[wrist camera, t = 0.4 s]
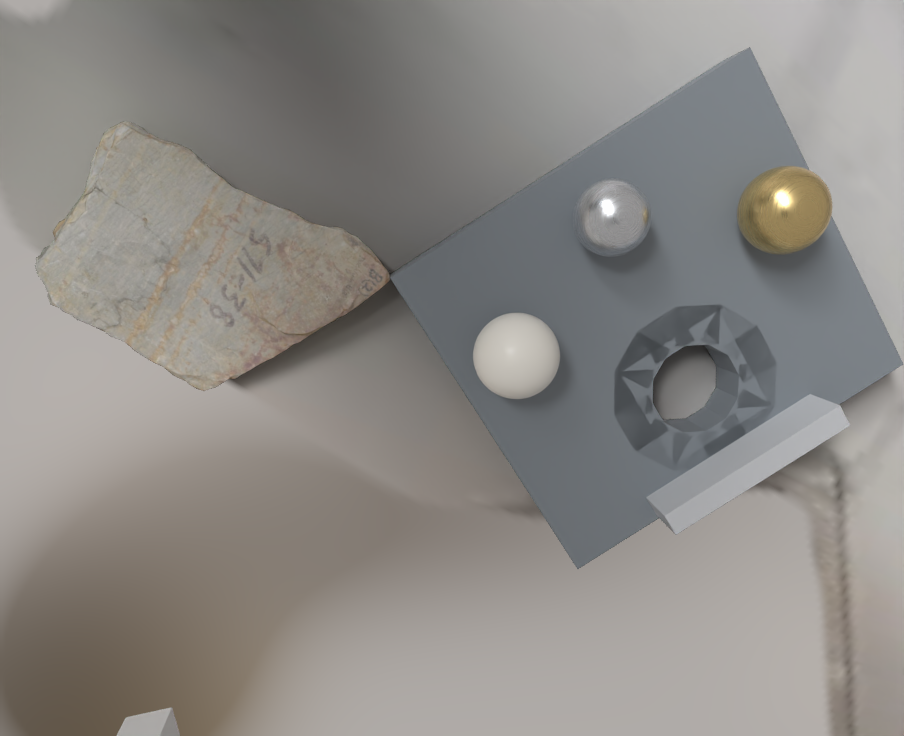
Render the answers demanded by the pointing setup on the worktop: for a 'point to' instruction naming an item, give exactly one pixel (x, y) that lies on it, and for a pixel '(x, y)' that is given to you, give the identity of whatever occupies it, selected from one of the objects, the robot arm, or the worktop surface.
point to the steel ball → (612, 217)
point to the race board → (657, 321)
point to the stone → (197, 263)
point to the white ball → (516, 355)
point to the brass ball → (784, 210)
